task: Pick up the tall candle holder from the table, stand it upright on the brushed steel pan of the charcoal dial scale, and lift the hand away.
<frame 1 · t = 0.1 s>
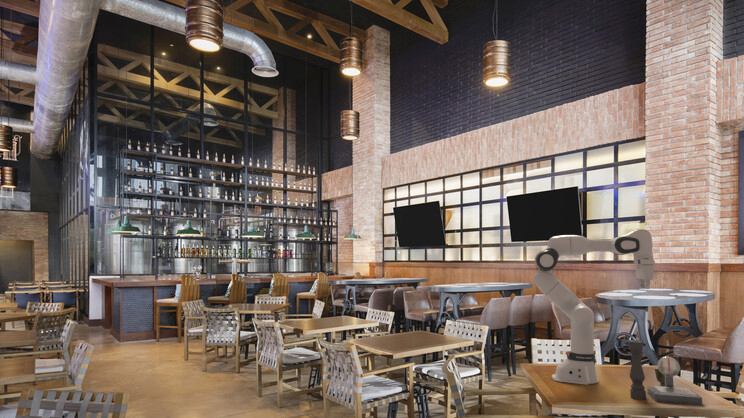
hand: (644, 288, 246), 48 cm above the table, tool pointing down, fingers open, 8 cm apart
scale pan: (674, 391, 217), point 3 cm above the table
scale base: (673, 398, 218), on the table
candle holder: (638, 398, 219), on the table
cup: (664, 386, 239), on the table
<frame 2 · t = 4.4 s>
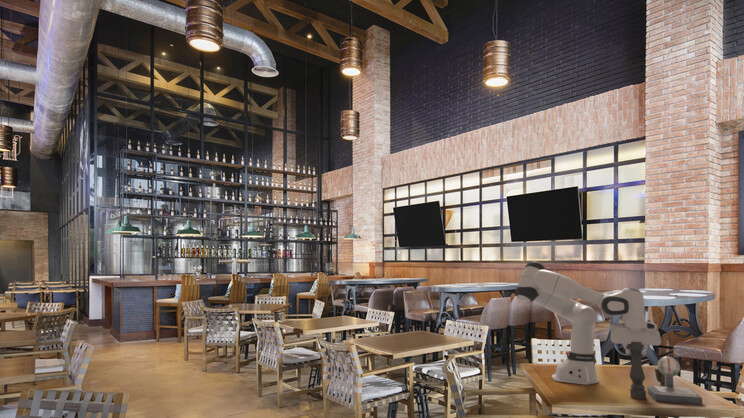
hand: (636, 354, 221), 19 cm above the table, tool pointing down, fingers closed on candle holder, 5 cm apart
candle holder: (638, 397, 219), on the table, touching gripper
everything else where it was.
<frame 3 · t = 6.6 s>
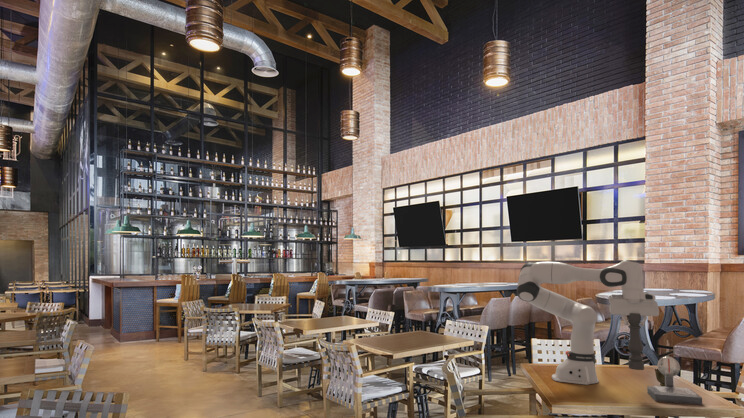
hand: (634, 325, 223), 32 cm above the table, tool pointing down, fingers closed on candle holder, 5 cm apart
candle holder: (636, 368, 221), point 13 cm above the table, touching gripper
everything else where it was.
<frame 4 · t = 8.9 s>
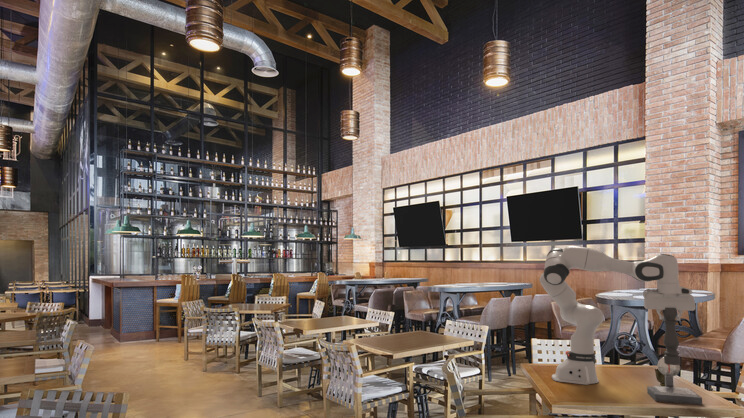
hand: (669, 320, 220), 35 cm above the table, tool pointing down, fingers closed on candle holder, 5 cm apart
candle holder: (672, 364, 218), point 16 cm above the table, touching gripper
everything else where it was.
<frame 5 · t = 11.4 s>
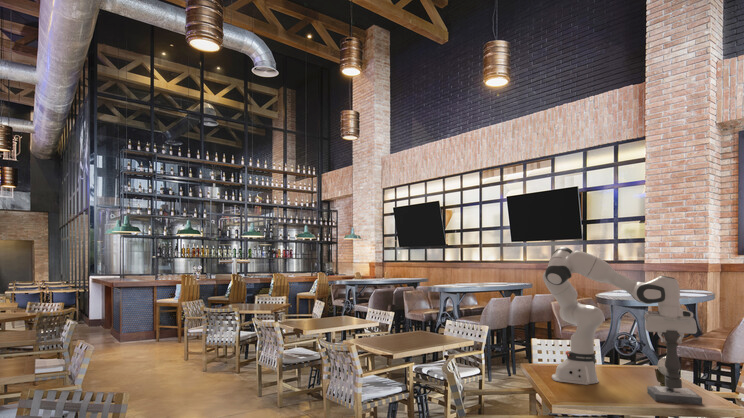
hand: (671, 342, 219), 25 cm above the table, tool pointing down, fingers closed on candle holder, 5 cm apart
candle holder: (673, 387, 217), point 5 cm above the table, touching gripper
everything else where it was.
when the fingers open (24 cm above the table, at t = 13.5 s): candle holder stays where it is, resting on scale pan.
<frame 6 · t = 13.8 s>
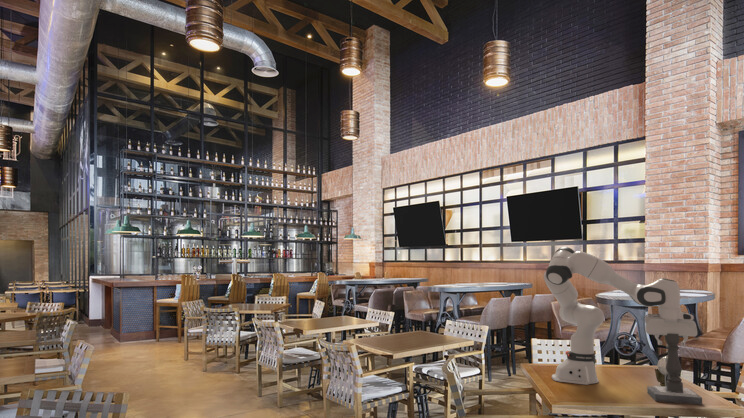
hand: (671, 345, 219), 24 cm above the table, tool pointing down, fingers open, 8 cm apart
candle holder: (674, 390, 217), point 4 cm above the table, touching scale pan
everything else where it was.
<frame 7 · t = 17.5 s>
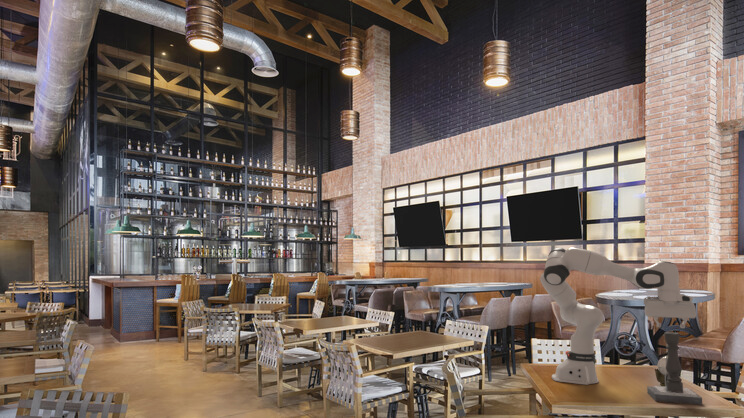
hand: (670, 327, 220), 32 cm above the table, tool pointing down, fingers open, 8 cm apart
nothing on the table moved.
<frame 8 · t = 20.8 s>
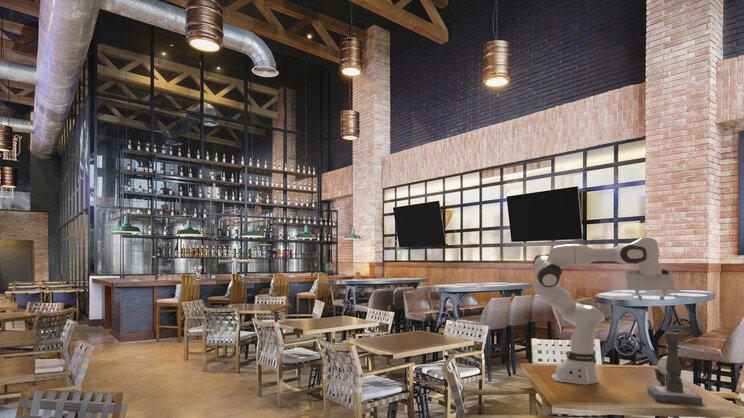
hand: (651, 299, 232), 43 cm above the table, tool pointing down, fingers open, 8 cm apart
nothing on the table moved.
at the end: candle holder inside the target area on the scale pan (0.3 cm from its centre), point 4.0 cm above the scale pan's base; candle holder tilted 0°; the gripper is holding nothing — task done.
